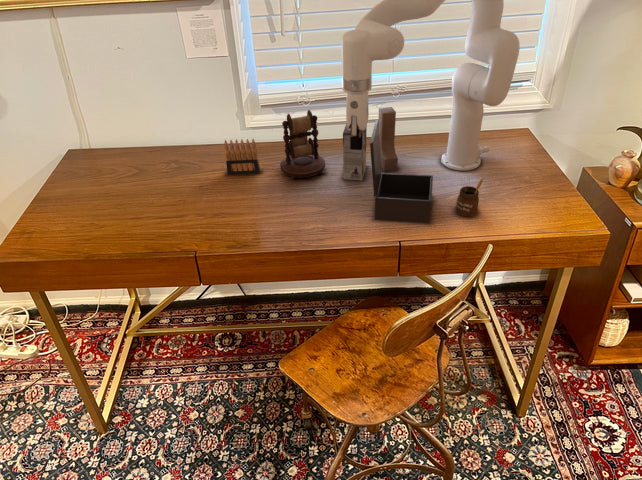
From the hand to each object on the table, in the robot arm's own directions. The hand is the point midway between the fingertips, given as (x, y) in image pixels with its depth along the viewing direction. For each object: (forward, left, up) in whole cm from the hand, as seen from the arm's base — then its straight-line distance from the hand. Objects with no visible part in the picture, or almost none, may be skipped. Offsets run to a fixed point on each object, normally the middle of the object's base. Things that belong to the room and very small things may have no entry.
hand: (356, 148), depth 151 cm
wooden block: (-20, -17, -19) cm, 32 cm away
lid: (-5, +3, -3) cm, 7 cm away
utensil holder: (-26, +18, -19) cm, 37 cm away
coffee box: (-8, -17, -19) cm, 27 cm away
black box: (-11, +8, -18) cm, 23 cm away
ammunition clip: (+24, -35, -19) cm, 46 cm away
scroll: (+6, -27, -19) cm, 33 cm away
